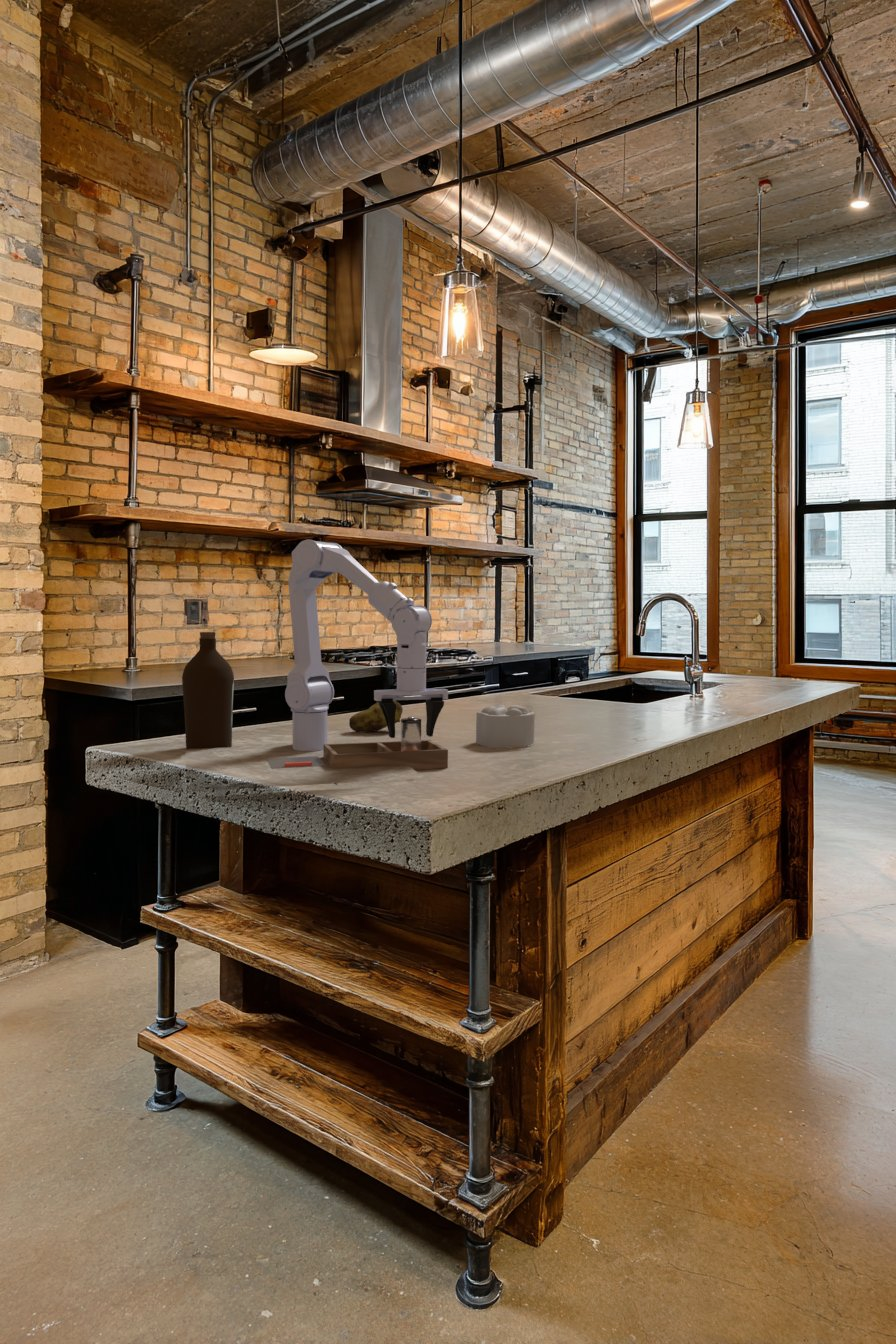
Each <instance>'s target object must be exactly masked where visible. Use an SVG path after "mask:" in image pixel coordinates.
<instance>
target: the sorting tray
mask: <svg viewBox="0 0 896 1344" xmlns="http://www.w3.org/2000/svg"><path fill="white" fill-rule="evenodd" d="M322 751H323V758H324V760H326V762H327V763H328V764H329V765H330V766H331V767H332V769H334V770H335V769H353V768H355V769H356V768H373V767H374V768H375V767H395V766H408V767H410V768H411V769H413V770H431V769H448V768H449V767H448V765H449V761H448V760H449V759H448V758H449V749H447V748H445V747H443V746H441V745H440V744H438V743H437V742H435V741H432V740H431V739H424V740H423V739H421V750H416V751H401V740H400V741H395V740H393V741H377V742H375V741H374V742H373V741H372V742H353V743H352V742H349V743H348V742H347V743H327V744H323V750H322Z"/></svg>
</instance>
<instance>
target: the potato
mask: <svg viewBox="0 0 896 1344" xmlns="http://www.w3.org/2000/svg"><path fill="white" fill-rule="evenodd" d="M393 702H394V704H396V712H395V724H397V723H401V719H402V714H403V711H404V710H403V705H402V704H401V703H399V702H398V700H393ZM348 724H349V728H350V729H351V730H352V731H354V732H356V733H360V732H362V733H365V732H366V733H370V732H377V731H381V730H383V729H384V728H388V727H387V723H386V720H385V717H384V714H383V712H382V710H381V708H380V705H379V703H378V701H376V703H374V704H373V705H371V706H370V707H369V708H368V709H364V710H361V711H360V712H357V713H355V714H353V715H352V716H350V718H349V723H348Z"/></svg>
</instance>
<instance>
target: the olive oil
mask: <svg viewBox="0 0 896 1344" xmlns="http://www.w3.org/2000/svg"><path fill="white" fill-rule="evenodd" d="M199 636H200V637H199V650H198V651H197V652H196V654H195V655H194V656H193V657H192V658H191V659H190V660H189V661H188V662H187V663H186V665H185V667H184V668H183V672H182V675H181V681H182V682H181V684H182V696H183V711H184V714H183V715H184V730H185V731H184V733H185V749H186V750H196V749H198V750H199V749H201V750H202V749H220V748H222V749H223V748H228V749H229V748H232V747H233V715H234V714H233V710H234V689H235V688H234V687H235V676H234V675H235V674H234V671H233V669H232V666H231V665H230V663H229V662H228V661H227V660H226V659H225V658H224V657H223V655H221V653H219V652H218V650H217V639H216V631H200V632H199Z"/></svg>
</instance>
